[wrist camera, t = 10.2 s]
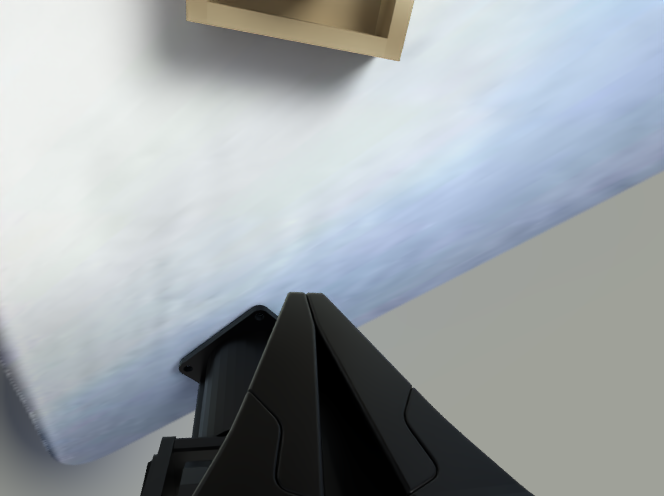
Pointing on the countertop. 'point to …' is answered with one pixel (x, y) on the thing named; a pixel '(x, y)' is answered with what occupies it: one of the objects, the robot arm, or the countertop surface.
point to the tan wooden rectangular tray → (315, 22)
